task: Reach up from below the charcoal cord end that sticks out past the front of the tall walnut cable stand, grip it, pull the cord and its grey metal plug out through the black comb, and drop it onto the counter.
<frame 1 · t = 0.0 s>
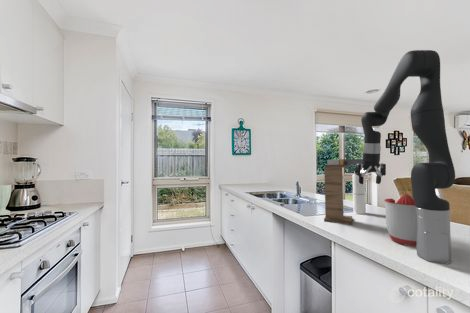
hand: (369, 183, 116), 22 cm above the countertop, tool pointing down, fingers open, 8 cm apart
citrus juicer: (406, 241, 96), on the countertop
cable stand: (338, 220, 132), on the countertop
cord plug: (346, 164, 130), point 32 cm above the countertop, touching cable stand
cylindrical container: (359, 213, 148), on the countertop
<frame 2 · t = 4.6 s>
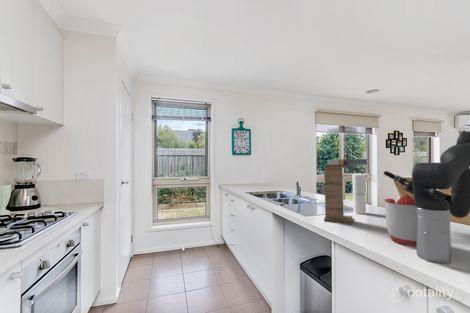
hand: (385, 172, 121), 28 cm above the countertop, tool pointing upward, fingers open, 8 cm apart
nothing on the countertop moved.
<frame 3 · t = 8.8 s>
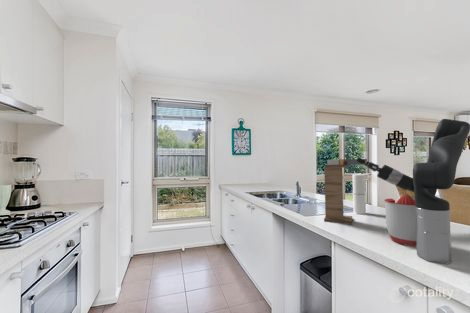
hand: (357, 159, 127), 35 cm above the countertop, tool pointing upward, fingers closed on cord plug, 3 cm apart
cord plug: (346, 164, 130), point 32 cm above the countertop, touching cable stand, gripper
everything else where it was.
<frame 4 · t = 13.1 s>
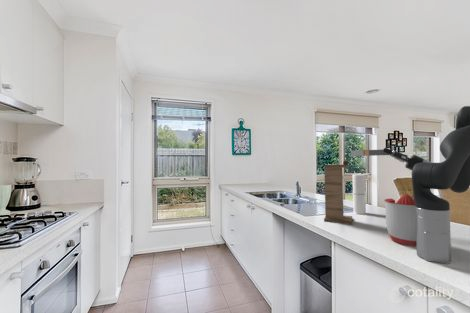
hand: (383, 149, 122), 40 cm above the countertop, tool pointing upward, fingers closed on cord plug, 3 cm apart
cord plug: (371, 155, 124), point 37 cm above the countertop, touching gripper
everything else where it was.
when the fingers open (26 cm above the countertop, at t = 17.6 s): cord plug drops 23 cm, on the countertop.
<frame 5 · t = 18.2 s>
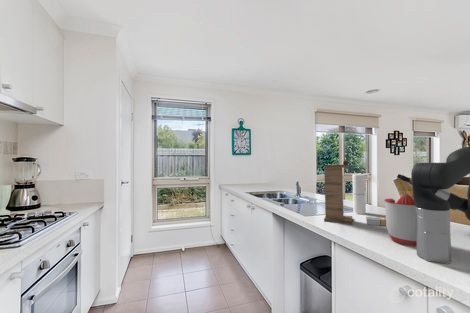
hand: (399, 176, 118), 26 cm above the countertop, tool pointing upward, fingers open, 8 cm apart
cord plug: (388, 225, 120), on the countertop
everything else where it was.
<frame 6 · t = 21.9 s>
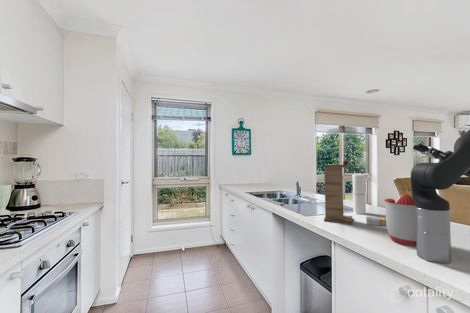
hand: (415, 146, 110), 41 cm above the countertop, tool pointing upward, fingers open, 8 cm apart
nothing on the countertop moved.
at the end: cord plug touching countertop; cord plug on the countertop; the gripper is holding nothing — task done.
